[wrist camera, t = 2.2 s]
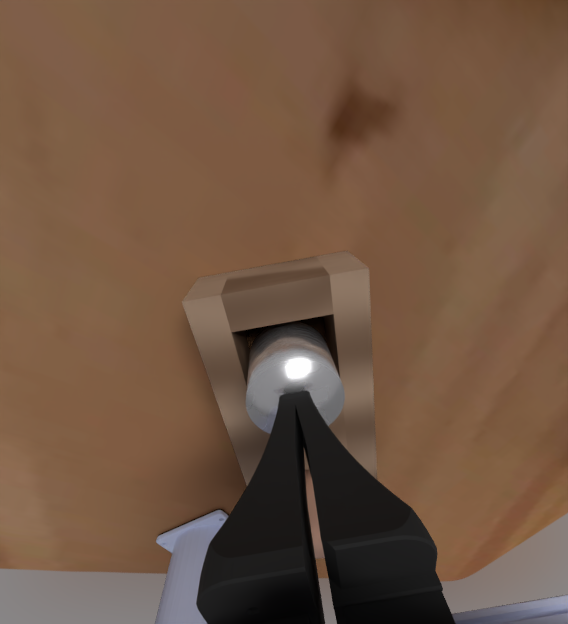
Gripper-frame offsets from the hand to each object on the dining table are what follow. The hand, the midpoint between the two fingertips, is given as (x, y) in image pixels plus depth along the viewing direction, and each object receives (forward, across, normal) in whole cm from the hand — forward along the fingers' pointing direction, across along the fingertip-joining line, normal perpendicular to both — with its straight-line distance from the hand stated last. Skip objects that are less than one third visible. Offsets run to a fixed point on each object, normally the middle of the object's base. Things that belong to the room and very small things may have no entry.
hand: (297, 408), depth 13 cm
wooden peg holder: (+7, 0, +6) cm, 10 cm away
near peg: (+4, 0, 0) cm, 4 cm away
